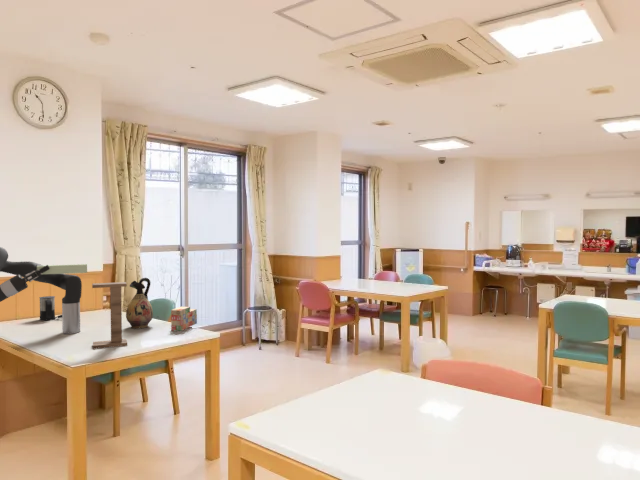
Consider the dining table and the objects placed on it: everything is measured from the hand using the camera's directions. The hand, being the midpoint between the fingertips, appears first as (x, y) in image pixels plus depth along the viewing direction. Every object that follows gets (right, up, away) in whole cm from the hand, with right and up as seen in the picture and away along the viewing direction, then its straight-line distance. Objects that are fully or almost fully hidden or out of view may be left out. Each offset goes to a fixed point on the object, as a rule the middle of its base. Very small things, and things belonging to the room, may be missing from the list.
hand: (48, 266), depth 244 cm
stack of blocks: (+51, -40, +59) cm, 87 cm away
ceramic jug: (+24, -40, +59) cm, 75 cm away
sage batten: (+5, -3, +3) cm, 7 cm away
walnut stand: (+25, -41, +13) cm, 50 cm away
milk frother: (-41, -39, +83) cm, 100 cm away
